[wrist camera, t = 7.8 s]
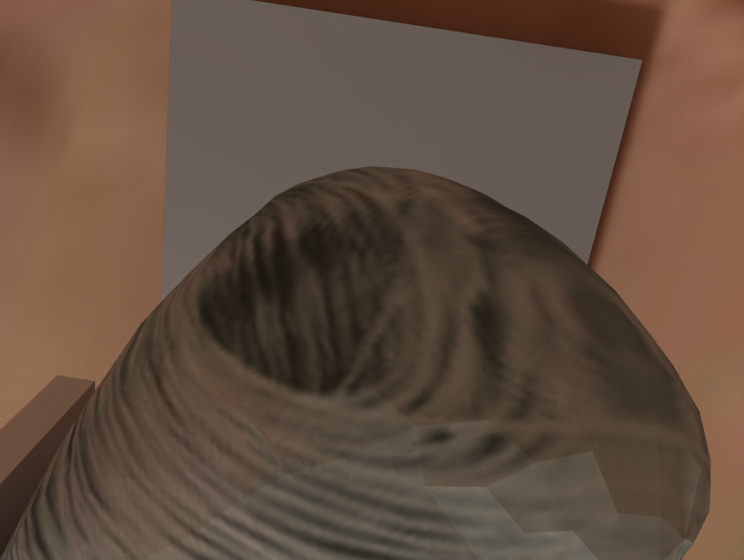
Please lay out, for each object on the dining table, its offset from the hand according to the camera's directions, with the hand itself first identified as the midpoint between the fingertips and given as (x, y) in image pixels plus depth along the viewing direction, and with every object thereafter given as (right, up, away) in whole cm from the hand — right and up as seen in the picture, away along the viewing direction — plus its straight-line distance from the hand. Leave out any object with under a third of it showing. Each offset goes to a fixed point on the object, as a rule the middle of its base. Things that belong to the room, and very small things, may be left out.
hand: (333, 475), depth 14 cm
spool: (0, 0, +1) cm, 1 cm away
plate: (+1, +6, +17) cm, 18 cm away
